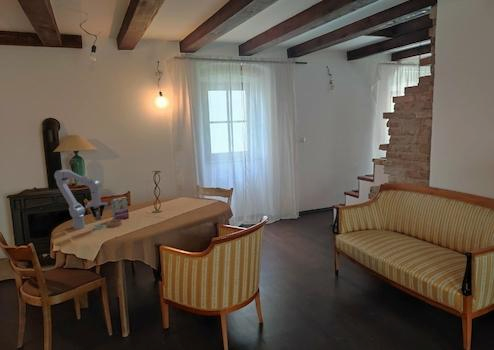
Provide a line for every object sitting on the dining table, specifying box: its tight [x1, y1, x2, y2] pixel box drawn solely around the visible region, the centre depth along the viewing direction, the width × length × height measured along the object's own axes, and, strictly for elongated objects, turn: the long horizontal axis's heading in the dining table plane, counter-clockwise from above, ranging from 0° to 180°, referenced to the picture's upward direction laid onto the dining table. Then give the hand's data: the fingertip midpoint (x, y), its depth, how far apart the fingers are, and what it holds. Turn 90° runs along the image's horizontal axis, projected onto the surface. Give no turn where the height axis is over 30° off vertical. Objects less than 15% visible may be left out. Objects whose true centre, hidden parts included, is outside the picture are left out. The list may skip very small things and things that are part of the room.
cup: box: [107, 219, 123, 228], centre depth 266 cm, size 10×10×4 cm
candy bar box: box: [110, 196, 130, 220], centre depth 284 cm, size 11×5×16 cm, turn 137°
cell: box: [94, 209, 102, 221], centre depth 259 cm, size 4×4×6 cm
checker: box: [90, 224, 108, 232], centre depth 260 cm, size 10×10×2 cm
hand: (97, 216), depth 259 cm, fingers closed on cell, 4 cm apart
